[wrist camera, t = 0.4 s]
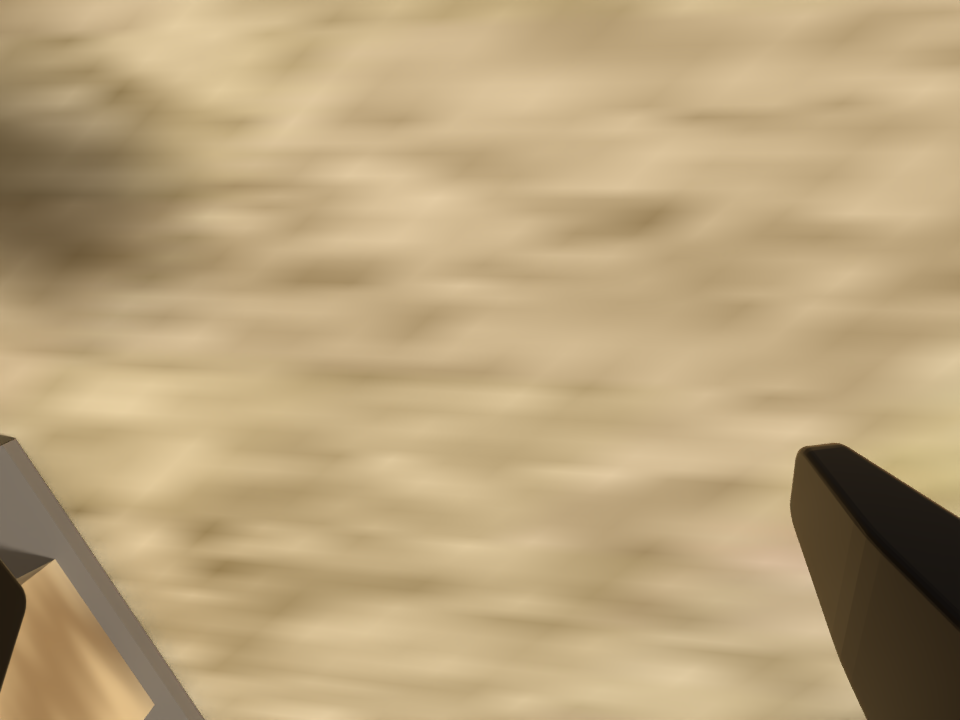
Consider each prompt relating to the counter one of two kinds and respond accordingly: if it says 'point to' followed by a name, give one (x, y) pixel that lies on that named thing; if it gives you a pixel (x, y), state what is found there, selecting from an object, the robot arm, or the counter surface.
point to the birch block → (66, 660)
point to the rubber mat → (79, 576)
